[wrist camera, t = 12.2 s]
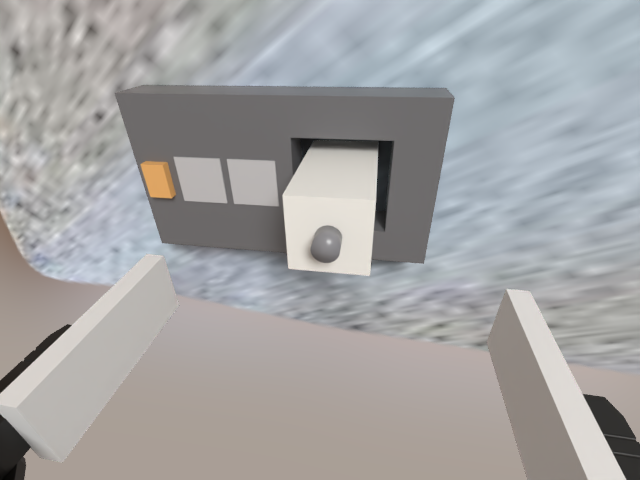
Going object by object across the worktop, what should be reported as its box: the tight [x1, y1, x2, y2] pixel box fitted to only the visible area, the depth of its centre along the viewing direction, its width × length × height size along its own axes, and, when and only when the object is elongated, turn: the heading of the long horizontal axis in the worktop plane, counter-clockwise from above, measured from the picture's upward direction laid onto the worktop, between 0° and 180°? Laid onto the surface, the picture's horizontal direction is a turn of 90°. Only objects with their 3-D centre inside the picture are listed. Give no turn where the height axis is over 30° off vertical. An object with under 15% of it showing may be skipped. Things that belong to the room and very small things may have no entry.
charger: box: [282, 140, 379, 276], centre depth 20 cm, size 4×4×10 cm
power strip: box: [115, 85, 454, 264], centre depth 24 cm, size 20×11×4 cm, turn 91°
